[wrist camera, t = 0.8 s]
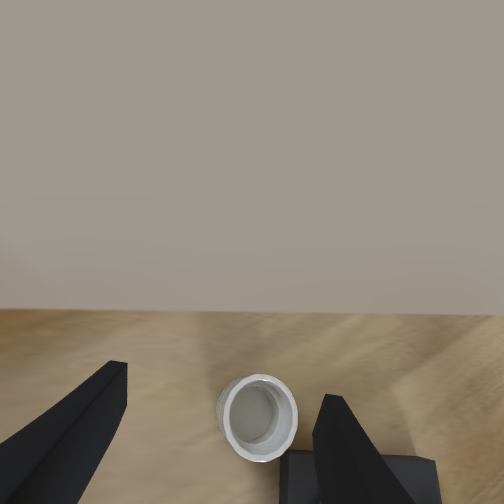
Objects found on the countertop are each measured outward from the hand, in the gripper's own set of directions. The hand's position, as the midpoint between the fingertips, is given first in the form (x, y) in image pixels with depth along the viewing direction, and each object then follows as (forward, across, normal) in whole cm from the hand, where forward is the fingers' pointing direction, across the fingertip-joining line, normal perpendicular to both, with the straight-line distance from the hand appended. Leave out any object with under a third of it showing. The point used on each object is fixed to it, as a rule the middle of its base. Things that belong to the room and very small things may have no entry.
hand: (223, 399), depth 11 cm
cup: (+10, -2, +12) cm, 16 cm away
